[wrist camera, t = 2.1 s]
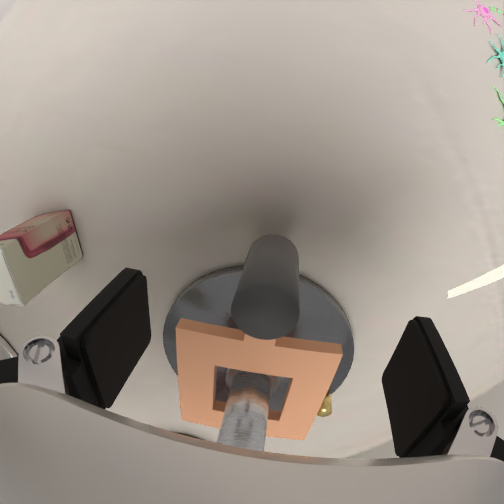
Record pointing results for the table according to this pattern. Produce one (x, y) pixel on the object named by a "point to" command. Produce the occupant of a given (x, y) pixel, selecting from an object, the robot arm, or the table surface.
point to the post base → (219, 313)
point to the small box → (36, 255)
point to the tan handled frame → (258, 345)
